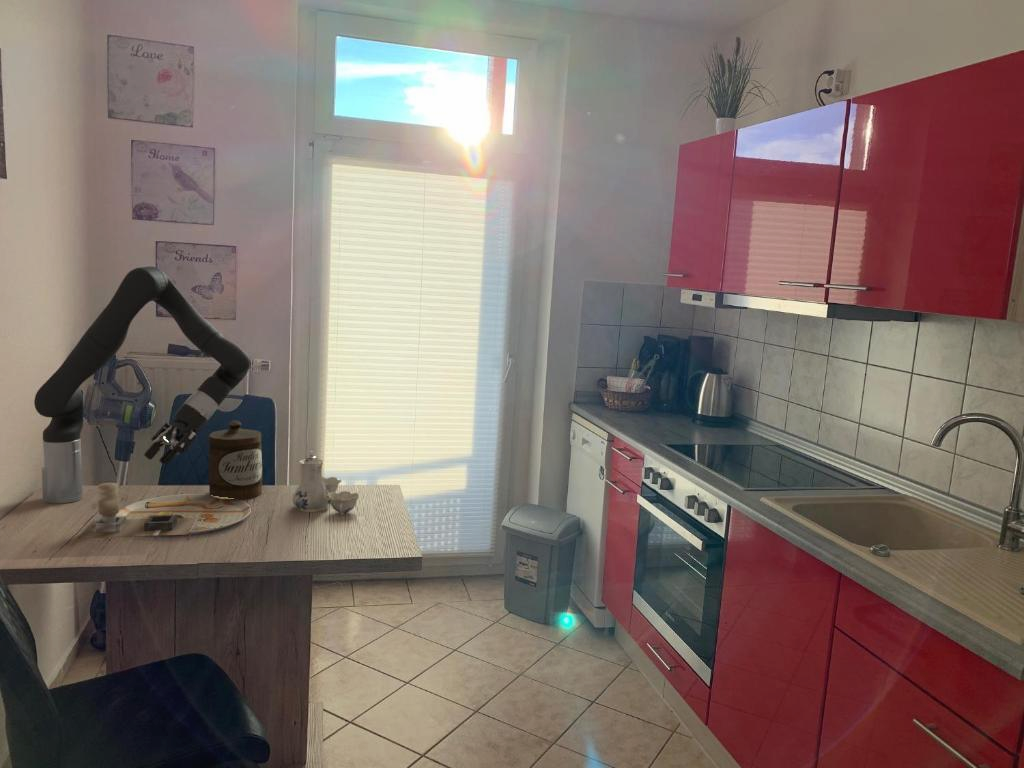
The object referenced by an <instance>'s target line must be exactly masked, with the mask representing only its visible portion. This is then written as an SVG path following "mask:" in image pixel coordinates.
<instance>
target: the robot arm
mask: <svg viewBox="0 0 1024 768" xmlns="http://www.w3.org/2000/svg"><path fill="white" fill-rule="evenodd" d="M150 302H154V303H156V304H157V305H159V306H160V307H162V308H163V309H164V310H165V311H167V312H166V313H168V314H169V315H170V316H171V317H172V318H173V320H174V321H175V322H176V324H177V326H178V328H179V329H180V331H181V332H182V333H183V335H184V336H185V337H186V338H187V339H188V340H189V341H190V342H191V344H193V345H194V346H195V347H196V348H197V349H198V350H199V351H201V353H203V354H204V355H206V357H211V358H213V359H214V360H215V361H216V362H217V363H219V364H220V365H219V367H218V368H217V369H216V371H215V372H214V373H213V374H212V375H211V376H210V375H209V376H208V377H207V378H206V379H205V380H204V381H203V382H202V383H201V385H199V387H198V388H197V389H196V390H195V391H194V392H193V393H192V394H191V395H190V396H189V397H188V398H187V399H186V400H185V401H184V403H182V405H181V406H180V407H179V408H178V410H177V411H176V412H175V413H174V414H173V420H174V422H173V423H172V424H170V423H168V422H165V423H164V424H163V425H162V426H161V427H160V428H159V430H158V431H157V432H156V433H155V434H154V435H152V437H151V441H152V444H151V446H150V447H148V449H147V450H146V451H145V452H144V454H143V456H144V457H145V458H147V459H148V460H152V459H153V458H154V457H155V456H156V455H157V453H159V451H160V450H161V449H162V448H164V447H165V446H169V445H170V446H169V448H167V450H166V451H165V452H164V453H163V455H162V456H161V457H160V458H159V460H158V462H160V464H162V465H163V466H168V464H169V463H170V462H171V461H172V460H173V459H174V457H175V456H176V455H179V454H181V455H182V454H184V453H185V452H186V451H187V450H188V448H189V447H190V446H191V444H192V443H193V442H194V440H195V439H197V434H198V433H199V432H200V430H201V429H202V428H203V427H204V426H205V425H206V423H207V422H208V421H209V420H210V419H211V417H212V416H213V415H214V413H215V412H216V410H218V408H219V406H220V405H221V404H222V403H223V402H224V401H225V400H226V398H227V397H228V396H229V393H230V392H231V391H232V390H234V389H235V388H236V387H237V386H238V385H239V384H240V383H241V381H242V380H244V378H245V377H246V376H247V374H248V372H249V370H250V367H251V361H250V360H251V359H250V356H249V355H248V354H247V353H246V352H245V350H244V349H242V348H241V347H240V346H239V345H237V344H235V343H234V342H233V341H231V340H229V338H226V337H225V336H224V335H223V334H222V333H221V332H220V331H219V330H218V329H217V328H216V327H215V326H213V324H211V323H210V322H209V321H208V320H206V318H204V316H202V314H201V313H199V311H197V310H196V309H195V308H194V306H193V305H192V304H191V303H190V302H189V300H187V298H186V297H185V296H184V295H183V294H182V293H181V291H180V290H179V289H178V288H177V286H176V285H175V283H174V282H173V281H172V280H171V279H170V277H169V276H168V275H167V274H166V273H165V272H164V271H163V270H162V269H161V268H158V267H155V266H141V267H135V268H134V269H131V270H130V271H129V272H127V274H126V275H125V276H124V278H123V279H122V281H121V283H119V286H118V288H117V289H116V291H115V293H114V295H112V297H111V300H110V301H109V303H108V304H107V305H106V306H105V307H104V308H103V310H102V311H101V312H100V313H99V314H98V316H97V317H96V319H95V320H94V321H93V323H92V324H91V325H90V326H89V327H88V328H87V330H86V331H85V332H84V334H83V335H82V336H81V338H80V339H79V341H78V343H77V344H76V345H75V346H74V348H73V349H71V351H70V352H69V354H68V356H67V357H66V358H65V359H64V361H63V362H62V363H61V365H60V366H59V368H57V370H55V372H54V373H53V374H52V375H51V376H50V377H49V378H48V379H47V380H46V381H45V382H44V383H43V384H42V385H41V386H40V387H39V388H38V389H37V392H36V393H35V396H34V401H33V402H34V408H35V410H36V413H38V414H39V415H40V416H42V417H45V418H51V420H50V422H49V424H48V426H47V427H45V428H44V430H43V431H42V445H43V446H42V449H43V450H42V451H43V468H41V487H42V503H50V504H67V503H73V502H77V501H80V500H82V499H83V497H84V496H83V495H84V494H83V493H84V491H83V470H82V469H83V468H82V465H83V463H82V446H81V445H82V443H81V442H82V441H81V433H82V431H83V427H84V409H85V407H84V395H83V393H82V390H81V388H80V387H81V385H82V384H83V383H84V382H86V381H87V380H88V379H89V378H91V377H92V376H93V375H95V374H96V373H98V372H100V370H101V369H103V368H104V367H105V366H106V365H107V364H108V363H109V362H110V361H111V360H112V359H113V358H114V356H115V355H116V354H117V353H118V352H119V350H120V349H121V348H122V346H123V344H124V342H125V340H126V338H127V335H128V332H129V328H130V325H131V323H132V321H133V320H134V319H135V317H136V316H137V314H138V313H140V311H141V310H142V309H143V308H144V307H146V305H147V304H148V303H150Z"/></svg>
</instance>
